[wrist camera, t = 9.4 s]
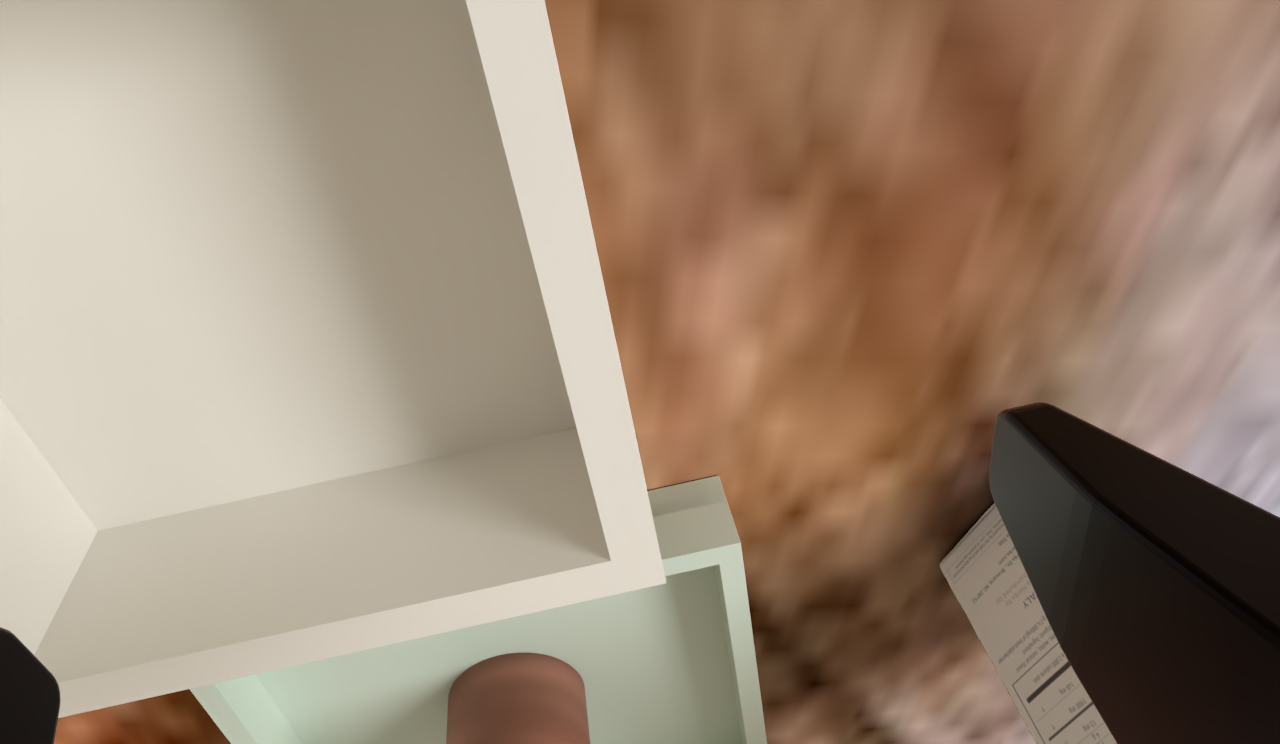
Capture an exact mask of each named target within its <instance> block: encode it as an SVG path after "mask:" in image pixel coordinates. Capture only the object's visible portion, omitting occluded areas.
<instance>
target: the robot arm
mask: <svg viewBox="0 0 1280 744" xmlns="http://www.w3.org/2000/svg"><path fill="white" fill-rule="evenodd" d="M989 485H990V490H991V494H992V497H993V500H994V502H995V505H996V507H997V509H998V511H999V514H1000V516H1001V518H1002V520H1003V522H1004V525H1005V527H1006V529H1007V531H1008V534H1009V536H1010V538H1011V540H1012V542H1013V545H1014V547H1015V549H1016V551H1017V553H1018V556H1019V558H1020V560H1021V562H1022V564H1023V567H1024V569H1025V571H1026V573H1027V576H1028V578H1029V580H1030V582H1031V584H1032V587H1033V589H1034V591H1035V593H1036V595H1037V598H1038V600H1039V602H1040V604H1041V606H1042V609H1043V611H1044V613H1045V615H1046V617H1047V620H1048V622H1049V624H1050V626H1051V628H1052V630H1053V632H1054V634H1055V636H1056V639H1057V641H1058V643H1059V645H1060V647H1061V649H1062V650H1063V652H1064V654H1065V656H1066V658H1067V659H1068V661H1069V663H1070V665H1071V667H1072V668H1073V670H1074V672H1075V674H1076V675H1077V677H1078V679H1079V680H1080V682H1081V684H1082V685H1083V687H1084V689H1085V690H1086V692H1087V694H1088V695H1089V697H1090V699H1091V700H1092V702H1093V704H1094V706H1095V707H1096V709H1097V711H1098V712H1099V714H1100V716H1101V717H1102V719H1103V721H1104V722H1105V724H1106V726H1107V727H1108V729H1109V731H1110V732H1111V734H1112V736H1113V737H1114V739H1115V741H1116V743H1117V744H1280V517H1278V516H1276V515H1274V514H1272V513H1269V512H1267V511H1265V510H1263V509H1261V508H1259V507H1257V506H1255V505H1253V504H1251V503H1249V502H1247V501H1245V500H1243V499H1241V498H1239V497H1237V496H1235V495H1233V494H1231V493H1229V492H1227V491H1225V490H1223V489H1221V488H1219V487H1217V486H1215V485H1213V484H1211V483H1209V482H1207V481H1205V480H1203V479H1201V478H1199V477H1197V476H1195V475H1193V474H1191V473H1189V472H1187V471H1185V470H1183V469H1181V468H1179V467H1177V466H1175V465H1173V464H1171V463H1169V462H1167V461H1165V460H1162V459H1160V458H1158V457H1156V456H1154V455H1152V454H1150V453H1148V452H1146V451H1144V450H1142V449H1140V448H1138V447H1136V446H1134V445H1132V444H1130V443H1128V442H1126V441H1124V440H1122V439H1120V438H1118V437H1116V436H1114V435H1112V434H1110V433H1108V432H1106V431H1104V430H1102V429H1100V428H1098V427H1096V426H1094V425H1092V424H1090V423H1088V422H1086V421H1084V420H1082V419H1080V418H1078V417H1076V416H1074V415H1072V414H1070V413H1068V412H1066V411H1064V410H1062V409H1060V408H1058V407H1055V406H1053V405H1051V404H1048V403H1034V404H1029V405H1024V406H1020V407H1015V408H1010V409H1006V410H1004V411H1002V412H1000V414H999V415H998V416H997V418H996V421H995V425H994V434H993V443H992V451H991V460H990V469H989ZM60 702H61V700H60V690H59V685H58V683H57V681H56V679H55V677H54V676H53V674H52V673H51V672H50V671H49V670H48V669H47V668H46V667H45V666H44V665H43V664H42V663H41V662H40V661H39V660H38V659H37V658H36V657H35V655H34V654H33V653H32V652H31V651H30V650H29V649H28V648H27V647H26V646H25V645H24V644H23V643H22V642H21V641H20V640H19V639H18V638H17V637H16V636H15V635H14V634H13V633H12V632H11V631H9V630H7V629H4V628H1V627H0V744H54V738H55V733H56V727H57V721H58V716H59V710H60Z"/></svg>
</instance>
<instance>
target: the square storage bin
mask: <svg viewBox="0 0 1280 744" xmlns="http://www.w3.org/2000/svg"><path fill="white" fill-rule="evenodd" d="M665 583H666V578H665V573H664V568H663V564H662V559H661V554H660V549H659V545H658V540H657V535H656V530H655V525H654V521H653V516H652V511H651V506H650V502H649V497H648V492H647V487H646V483H645V478H644V473H643V468H642V463H641V459H640V454H639V449H638V444H637V440H636V435H635V430H634V425H633V421H632V416H631V411H630V406H629V401H628V397H627V392H626V387H625V382H624V378H623V373H622V368H621V363H620V359H619V354H618V349H617V344H616V339H615V335H614V330H613V325H612V320H611V316H610V311H609V306H608V301H607V297H606V292H605V287H604V282H603V277H602V273H601V268H600V263H599V258H598V254H597V249H596V244H595V239H594V235H593V230H592V225H591V220H590V215H589V211H588V206H587V201H586V196H585V192H584V187H583V182H582V177H581V173H580V168H579V163H578V158H577V153H576V149H575V144H574V139H573V134H572V130H571V125H570V120H569V115H568V111H567V106H566V101H565V96H564V92H563V87H562V82H561V77H560V72H559V68H558V63H557V58H556V53H555V49H554V44H553V39H552V34H551V30H550V25H549V20H548V15H547V10H546V6H545V1H544V0H0V627H1V628H4V629H7V630H9V631H11V632H12V633H13V634H14V635H15V636H16V637H17V638H18V639H19V640H20V641H21V642H22V643H23V644H24V645H25V646H26V647H27V648H28V649H29V650H30V651H31V652H32V653H33V654H34V655H35V657H36V658H37V659H38V660H39V661H40V662H41V663H42V664H43V665H44V666H45V667H46V668H47V669H48V670H49V671H50V672H51V673H52V674H53V676H54V677H55V679H56V681H57V683H58V685H59V690H60V700H61V702H60V710H59V716H58V718H61V717H65V716H70V715H74V714H79V713H83V712H88V711H92V710H97V709H101V708H106V707H110V706H115V705H119V704H124V703H128V702H133V701H137V700H142V699H146V698H151V697H155V696H160V695H164V694H169V693H173V692H178V691H182V690H187V689H191V688H196V687H200V686H205V685H209V684H214V683H219V682H223V681H228V680H232V679H237V678H241V677H246V676H250V675H255V674H259V673H264V672H268V671H273V670H277V669H282V668H286V667H291V666H295V665H300V664H304V663H309V662H313V661H318V660H322V659H327V658H331V657H336V656H340V655H345V654H349V653H354V652H358V651H363V650H367V649H372V648H376V647H381V646H386V645H390V644H395V643H399V642H404V641H408V640H413V639H417V638H422V637H426V636H431V635H435V634H440V633H444V632H449V631H453V630H458V629H462V628H467V627H471V626H476V625H480V624H485V623H489V622H494V621H498V620H503V619H507V618H512V617H516V616H521V615H525V614H530V613H534V612H539V611H543V610H548V609H553V608H557V607H562V606H566V605H571V604H575V603H580V602H584V601H589V600H593V599H598V598H602V597H607V596H611V595H616V594H620V593H625V592H629V591H634V590H638V589H643V588H647V587H652V586H656V585H661V584H665Z"/></svg>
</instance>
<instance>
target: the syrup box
mask: <svg viewBox="0 0 1280 744" xmlns="http://www.w3.org/2000/svg"><path fill="white" fill-rule="evenodd" d="M939 566H940V569H941V571H942V573H943V575H944V577H945V578H946V580H947V582H948V584H949V586H950V588H951V590H952V591H953V593H954V594H955V596H956V598H957V600H958V602H959V604H960V605H961V607H962V609H963V611H964V612H965V614H966V616H967V618H968V619H969V621H970V623H971V625H972V627H973V629H974V631H975V633H976V635H977V637H978V638H979V640H980V642H981V643H982V645H983V647H984V649H985V652H986V653H987V655H988V657H989V658H990V660H991V662H992V663H993V665H994V667H995V669H996V671H997V673H998V674H999V676H1000V678H1001V680H1002V682H1003V684H1004V686H1005V688H1006V689H1007V691H1008V693H1009V695H1010V696H1011V698H1012V700H1013V702H1014V704H1015V705H1016V707H1017V709H1018V711H1019V712H1020V714H1021V716H1022V718H1023V719H1024V721H1025V723H1026V725H1027V727H1028V728H1029V730H1030V732H1031V734H1032V736H1033V738H1034V740H1035V741H1036V743H1037V744H1117V743H1116V741H1115V739H1114V737H1113V736H1112V734H1111V732H1110V731H1109V729H1108V727H1107V726H1106V724H1105V722H1104V721H1103V719H1102V717H1101V716H1100V714H1099V712H1098V711H1097V709H1096V707H1095V706H1094V704H1093V702H1092V700H1091V699H1090V697H1089V695H1088V694H1087V692H1086V690H1085V689H1084V687H1083V685H1082V684H1081V682H1080V680H1079V679H1078V677H1077V675H1076V674H1075V672H1074V670H1073V668H1072V667H1071V665H1070V663H1069V661H1068V659H1067V658H1066V656H1065V654H1064V652H1063V650H1062V649H1061V647H1060V645H1059V643H1058V641H1057V639H1056V636H1055V634H1054V632H1053V630H1052V628H1051V626H1050V624H1049V622H1048V620H1047V617H1046V615H1045V613H1044V611H1043V609H1042V606H1041V604H1040V602H1039V600H1038V598H1037V595H1036V593H1035V591H1034V589H1033V587H1032V584H1031V582H1030V580H1029V578H1028V576H1027V573H1026V571H1025V569H1024V567H1023V564H1022V562H1021V560H1020V558H1019V556H1018V553H1017V551H1016V549H1015V547H1014V545H1013V542H1012V540H1011V538H1010V536H1009V534H1008V531H1007V529H1006V527H1005V525H1004V522H1003V520H1002V518H1001V516H1000V514H999V511H998V509H997V507H996V505H995V503H994V504H993V505H992V506H991V507H990V508H989V509H988V510H987V511H986V512H985V513H984V514H983V516H982V517H981V518H980V519H979V520H978V521H977V522H976V524H975V525H974V526H973V527H972V528H971V529H970V530H969V532H968V533H967V534H966V535H965V536H964V537H963V538H962V539H961V540H960V542H959V543H958V544H957V545H956V546H955V547H954V549H953V550H952V551H951V552H950V553H949V554H948V555H947V556H946V557H945V558H944V559H943V560H942V562H941V563H940V565H939Z"/></svg>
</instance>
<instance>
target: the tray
mask: <svg viewBox="0 0 1280 744" xmlns="http://www.w3.org/2000/svg"><path fill="white" fill-rule="evenodd" d="M647 492H648V497H649V502H650V506H651V511H652V516H653V521H654V525H655V530H656V535H657V540H658V545H659V549H660V554H661V559H662V564H663V568H664V573H665V578H666V583H665V584H661V585H656V586H652V587H647V588H643V589H638V590H634V591H629V592H625V593H620V594H616V595H611V596H607V597H602V598H598V599H593V600H589V601H584V602H580V603H575V604H571V605H566V606H562V607H557V608H553V609H548V610H543V611H539V612H534V613H530V614H525V615H521V616H516V617H512V618H507V619H503V620H498V621H494V622H489V623H485V624H480V625H476V626H471V627H467V628H462V629H458V630H453V631H449V632H444V633H440V634H435V635H431V636H426V637H422V638H417V639H413V640H408V641H404V642H399V643H395V644H390V645H386V646H381V647H376V648H372V649H367V650H363V651H358V652H354V653H349V654H345V655H340V656H336V657H331V658H327V659H322V660H318V661H313V662H309V663H304V664H300V665H295V666H291V667H286V668H282V669H277V670H273V671H268V672H264V673H259V674H255V675H250V676H246V677H241V678H237V679H232V680H228V681H223V682H219V683H214V684H209V685H205V686H200V687H196V688H191V689H190V691H191V692H192V693H193V695H194V696H195V697H196V699H197V700H198V701H199V702H200V704H201V705H202V706H203V708H204V709H205V710H206V712H207V713H208V714H209V716H210V717H211V718H212V720H213V721H214V722H215V723H216V725H217V726H218V727H219V729H220V730H221V731H222V733H223V734H224V735H225V737H226V738H227V739H228V740H229V742H230V743H231V744H446V734H447V713H448V695H449V691H450V689H451V687H452V685H453V683H454V682H455V680H456V679H457V678H458V677H459V676H460V675H461V674H462V673H463V672H464V671H466V670H467V669H468V668H470V667H471V666H473V665H475V664H477V663H479V662H481V661H483V660H486V659H489V658H491V657H495V656H499V655H504V654H510V653H538V654H544V655H548V656H552V657H555V658H557V659H560V660H562V661H564V662H566V663H568V664H569V665H570V666H572V667H573V668H574V669H575V670H576V671H577V672H578V673H579V674H580V676H581V678H582V680H583V682H584V687H585V696H586V706H587V716H588V726H589V736H590V744H767V739H766V731H765V724H764V716H763V708H762V701H761V693H760V685H759V678H758V670H757V663H756V655H755V647H754V640H753V632H752V624H751V617H750V609H749V601H748V594H747V586H746V579H745V571H744V563H743V556H742V548H741V542H740V539H739V536H738V533H737V529H736V526H735V523H734V520H733V517H732V514H731V511H730V508H729V505H728V502H727V499H726V496H725V493H724V490H723V487H722V484H721V481H720V478H719V475H718V476H714V477H709V478H705V479H700V480H696V481H691V482H686V483H682V484H677V485H673V486H668V487H664V488H659V489H654V490H650V491H647Z"/></svg>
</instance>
